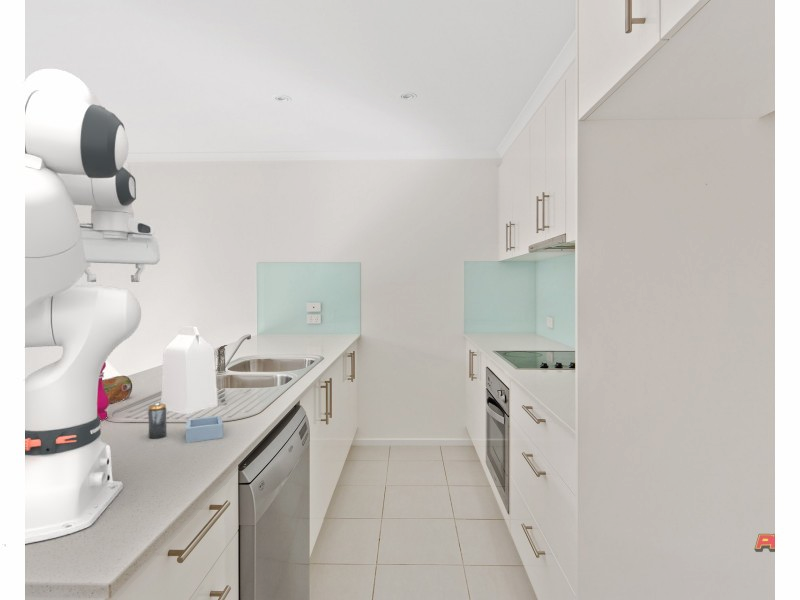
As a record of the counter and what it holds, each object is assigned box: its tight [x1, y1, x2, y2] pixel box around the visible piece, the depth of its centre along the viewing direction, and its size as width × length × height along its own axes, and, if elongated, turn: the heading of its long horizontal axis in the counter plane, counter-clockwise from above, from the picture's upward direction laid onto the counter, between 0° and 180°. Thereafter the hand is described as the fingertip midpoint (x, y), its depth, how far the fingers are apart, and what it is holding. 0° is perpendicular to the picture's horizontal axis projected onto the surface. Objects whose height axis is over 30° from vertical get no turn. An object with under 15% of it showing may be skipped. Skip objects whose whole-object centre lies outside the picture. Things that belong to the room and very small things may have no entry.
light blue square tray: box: [185, 415, 224, 444], centre depth 115 cm, size 8×8×4 cm
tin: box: [102, 375, 133, 405], centre depth 147 cm, size 15×3×8 cm, turn 167°
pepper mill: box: [97, 362, 110, 421], centre depth 128 cm, size 7×7×20 cm
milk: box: [160, 325, 219, 415], centre depth 141 cm, size 12×12×26 cm
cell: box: [147, 402, 168, 440], centre depth 114 cm, size 4×4×9 cm
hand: (114, 281), depth 109 cm, fingers open, 8 cm apart
